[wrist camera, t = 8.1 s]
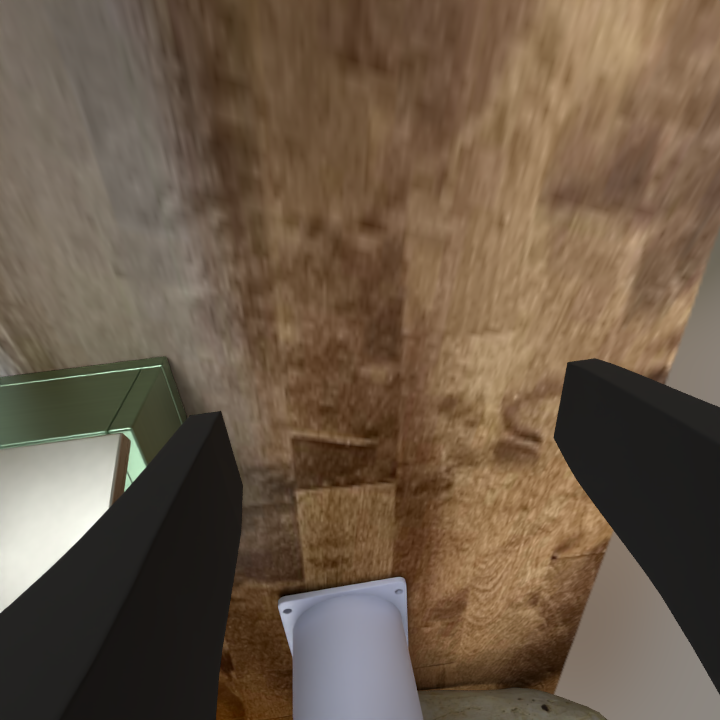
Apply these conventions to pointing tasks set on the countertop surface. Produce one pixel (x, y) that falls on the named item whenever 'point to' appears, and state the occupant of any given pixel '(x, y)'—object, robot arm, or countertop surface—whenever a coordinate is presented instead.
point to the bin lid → (53, 502)
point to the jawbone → (501, 705)
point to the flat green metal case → (94, 407)
